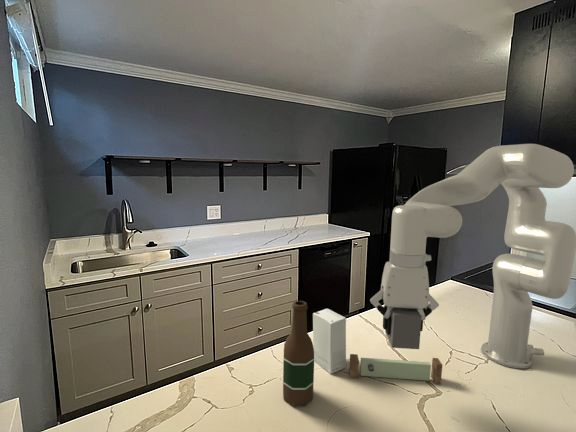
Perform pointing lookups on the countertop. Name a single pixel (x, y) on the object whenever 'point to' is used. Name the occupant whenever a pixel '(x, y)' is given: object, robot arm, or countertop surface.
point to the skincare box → (329, 340)
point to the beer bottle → (298, 360)
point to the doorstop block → (405, 328)
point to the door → (395, 369)
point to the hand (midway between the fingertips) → (402, 332)
